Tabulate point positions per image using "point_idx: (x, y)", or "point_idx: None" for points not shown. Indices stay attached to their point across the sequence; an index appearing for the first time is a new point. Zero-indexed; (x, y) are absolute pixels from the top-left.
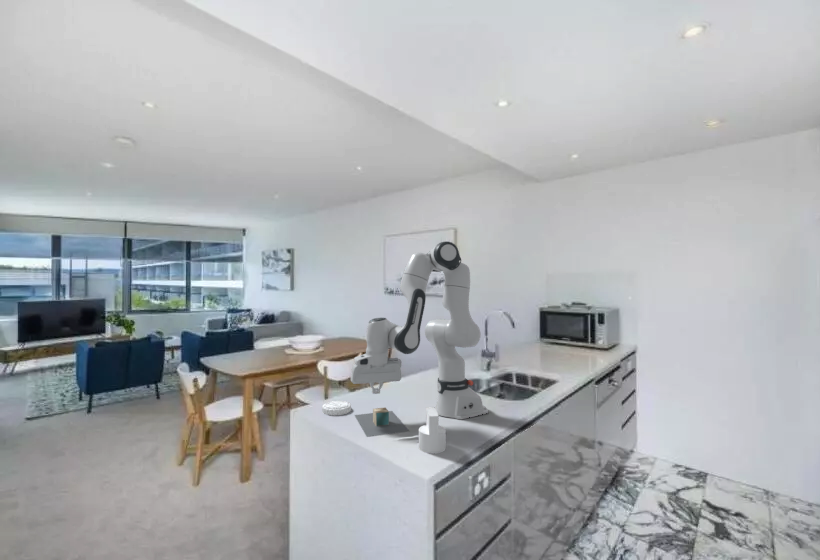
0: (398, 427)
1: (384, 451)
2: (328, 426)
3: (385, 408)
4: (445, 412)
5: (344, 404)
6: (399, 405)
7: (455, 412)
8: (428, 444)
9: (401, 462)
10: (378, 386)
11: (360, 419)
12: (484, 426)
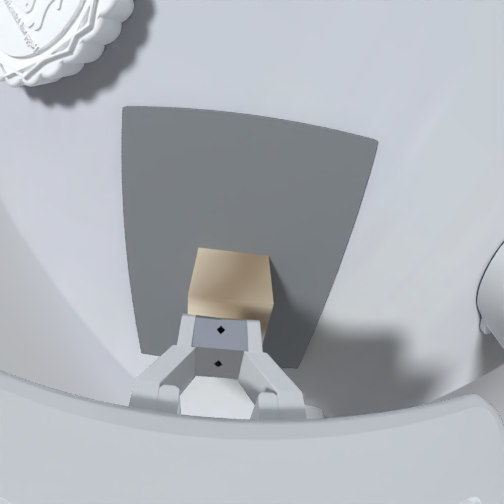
0: (278, 339)
1: None
2: (11, 198)
3: (264, 316)
4: (486, 310)
5: (71, 4)
6: (462, 68)
7: (491, 331)
8: None
9: None
10: (255, 367)
11: (140, 192)
12: (468, 368)
